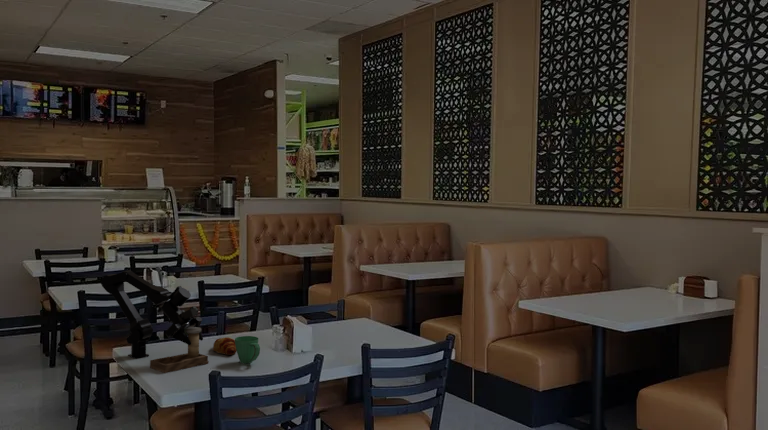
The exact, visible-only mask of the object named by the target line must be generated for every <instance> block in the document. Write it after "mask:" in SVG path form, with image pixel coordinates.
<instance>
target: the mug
mask: <svg viewBox="0 0 768 430" xmlns="http://www.w3.org/2000/svg"><path fill="white" fill-rule="evenodd" d="M234 340H235V345H236V350H237V351H236V353H237V357H238V360H239V363H240V364H245V365H246V364H251V363H253V362H255V361H256V360H257V359H258V357H259V355H260V353H261V352H260V351H261V347H260V344H259V337H257V336H253V335H242V336H238V337H235V338H234Z"/></svg>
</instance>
